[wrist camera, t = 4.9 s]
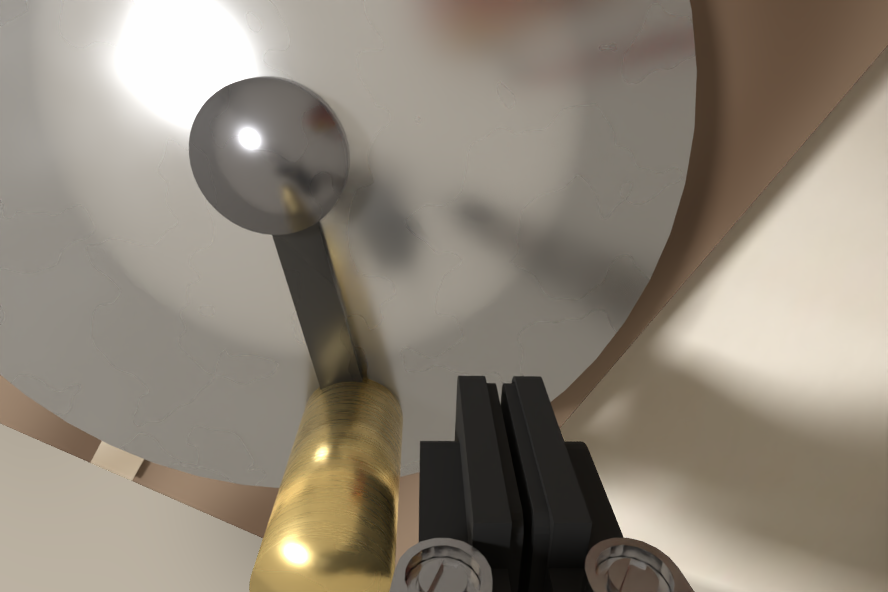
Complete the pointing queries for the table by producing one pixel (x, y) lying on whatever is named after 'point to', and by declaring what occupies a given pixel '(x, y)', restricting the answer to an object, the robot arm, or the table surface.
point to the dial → (325, 230)
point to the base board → (693, 232)
